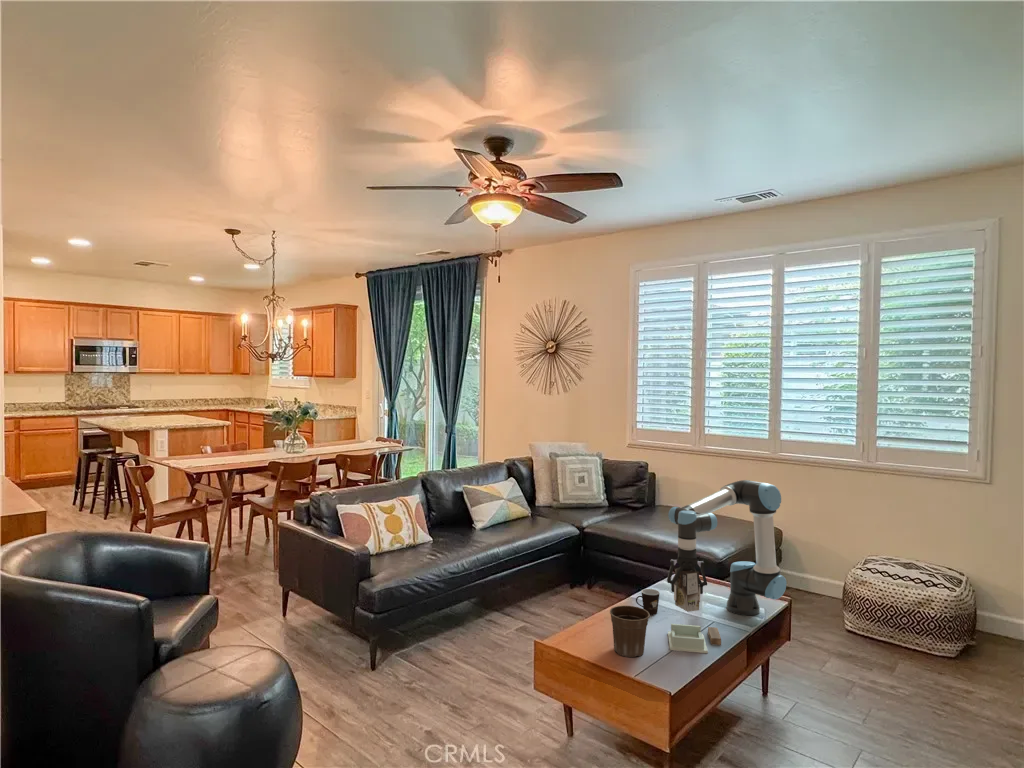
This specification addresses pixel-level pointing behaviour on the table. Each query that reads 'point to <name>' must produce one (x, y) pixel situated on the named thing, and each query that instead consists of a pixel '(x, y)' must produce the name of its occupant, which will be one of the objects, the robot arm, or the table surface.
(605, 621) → the table surface
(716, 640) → the brown wooden block
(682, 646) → the mint green tray
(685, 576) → the coffee box
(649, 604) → the coffee mug
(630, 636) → the plant pot
